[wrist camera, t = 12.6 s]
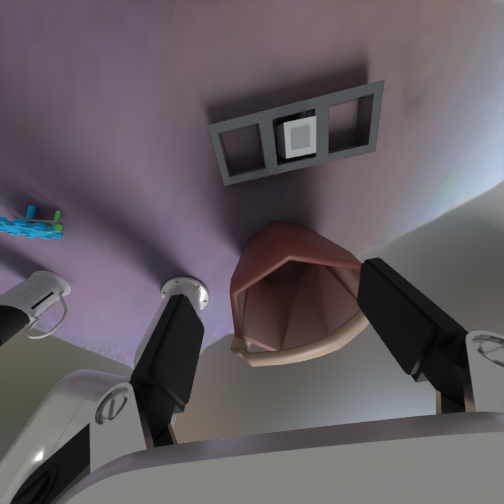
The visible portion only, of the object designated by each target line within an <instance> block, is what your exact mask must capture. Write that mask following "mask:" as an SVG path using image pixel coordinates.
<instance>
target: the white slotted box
mask: <svg viewBox="0 0 504 504" xmlns="http://www.w3.org/2000/svg"><path fill="white" fill-rule="evenodd" d="M276 131H277V142H278V153H279V156H280V157H283V158H291V157H296V156H301V155H306V154H311V153H316V116H313V117H308V118H303V119H299V120H294V121H289V122H285V123H282V124H281V125H279V126H277V127H276Z"/></svg>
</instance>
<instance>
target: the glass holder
mask: <svg viewBox="0 0 504 504" xmlns="http://www.w3.org/2000/svg"><path fill="white" fill-rule="evenodd" d="M70 291H71V287H70V285H69V283H68V282H67V281H66V280H65V279H64V278H63V277H61V276H59V275H58V274H56V273H53V272H50V271H44V270H40V271H36V272H34V273H33V274H32V275H31V277H30V278H28V279H26V280H25V281H23V282H21V283H20V284H18V285H17V286H15V287H13V288H12V289H10V290H8V291H7V292H5V293H3V294H2V295H0V346H2V345H3V344H4V343H5V342H6V341H8V340H9V339H10V338H11V337H13V336H14V335H15V334H16V333H17V332H19V331H20V330H21V329H22V328H23V327H25V326H27V325H29V324H30V323H31V322H32V321H33V320H35V319H36V321H34V322H33V323H32V324H31V325H30V326H29V327H28V329H27V331H26V334H27V336H28V337H29V338H33V339H37V338H43V337H46V336H48V335H50V334H51V333H53V332H54V331H55V330H56V329H57V328H58V327H59V326H60V325H61V324H62V322H63V321H64V319H65V317H66V315H67V307H66V305H65V302H64V300H63V298H62V297H63V296H66V295H68V294H69V293H70ZM59 299H60V300H61V302H62V303H63V306H64V309H65V311H64V315H63V317H62V319H61V321H60V322H59V323H58V324H57V325H56V326H55V327H54V328H53V329H52V330H51V331H49V332H48V333H46V334H43V335H38V336H32V335H30V330H31V329H32V328H33V327H34V326H35V325H36V324H37V323H38V321H39V319H38V316H39V315H41V314H42V313H43V312H44V311H46V310H47V309H48V308H49V307H50V306H52V305H53V304H54V303H55V302H56V301H58V300H59Z"/></svg>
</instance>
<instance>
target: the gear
mask: <svg viewBox="0 0 504 504" xmlns="http://www.w3.org/2000/svg"><path fill="white" fill-rule="evenodd" d="M36 208H37V207H35V206H32V205H29V207H28V210H27V214H26V217H25V219H18V218H15V220H14V222H12V221H7V218H5V217H0V231H4V232H8V234H11V235H26V237H29V238H36V236H41V237H42V238H43V239H51V237H52V238H55V239H60V238H61V237H62V235H63V232H62V228H63V226H62V223H61V222H59V219H60V215H61V211H56V213H55V217H54V220H34V215H35V212H36ZM46 225H51V226H47V227H45V226H46Z"/></svg>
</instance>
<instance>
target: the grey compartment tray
mask: <svg viewBox="0 0 504 504" xmlns="http://www.w3.org/2000/svg"><path fill="white" fill-rule="evenodd" d="M384 81H385V80H381V81H377V82H373V83H369V84H365V85H361V86H358V87H354V88H350V89H346V90H342V91H338V92H334V93H330V94H327V95H323V96H319V97H315V98H311V99H307V100H303V101H300V102H296V103H292V104H288V105H284V106H280V107H276V108H273V109H269V110H265V111H261V112H257V113H253V114H249V115H246V116H242V117H238V118H234V119H230V120H226V121H222V122H218V123H215V124H211V125H207V126H208V129H209V133H210V137H211V140H212V144H213V147H214V151H215V155H216V158H217V162H218V165H219V169H220V173H221V176H222V180H223V183H224V186H227V185H231V184H235V183H240V182H244V181H248V180H253V179H257V178H261V177H266V176H270V175H274V174H279V173H283V172H288V171H292V170H296V169H301V168H305V167H309V166H314V165H318V164H322V163H327V162H331V161H336V160H340V159H344V158H349V157H353V156H357V155H362V154H366V153H370V152H375V151H376V143H377V135H378V127H379V120H380V112H381V104H382V96H383V88H384ZM355 100H359V107H358V120H357V133H356V145H352V146H348V147H344V148H339V149H335V150H331V151H328V133H329V107H331V106H335V105H339V104H343V103H347V102H351V101H355ZM303 113H307V118H308V117H313V116H316V153H311V154H309V156H305V157H301V158H297V159H292V160H288V161H284V162H279V163H277V157H276V148H275V140H274V132H273V124H272V121H276V120H280V119H284V118H288V117H292V116H296V115H299V114H303ZM256 125H257V126H258V132H259V138H260V145H261V151H262V157H263V163H264V166H262V167H258V168H254V169H250V170H245V171H241V172H237V173H233V174H231V173H230V169H229V165H228V161H227V157H226V153H225V149H224V145H223V141H222V137H221V134H224V133H228V132H232V131H236V130H240V129H244V128H248V127H252V126H256Z"/></svg>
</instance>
